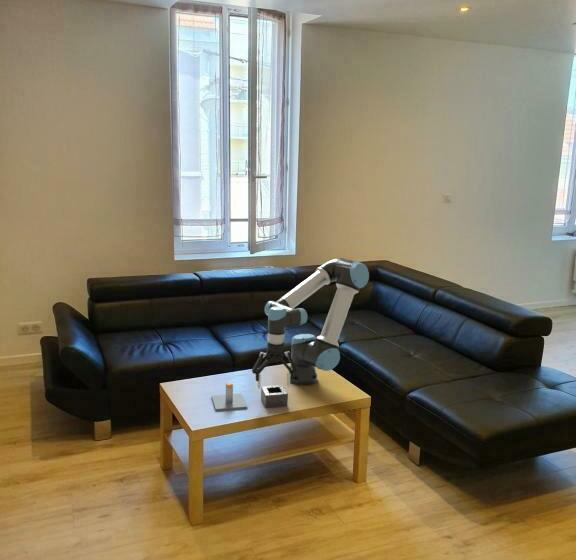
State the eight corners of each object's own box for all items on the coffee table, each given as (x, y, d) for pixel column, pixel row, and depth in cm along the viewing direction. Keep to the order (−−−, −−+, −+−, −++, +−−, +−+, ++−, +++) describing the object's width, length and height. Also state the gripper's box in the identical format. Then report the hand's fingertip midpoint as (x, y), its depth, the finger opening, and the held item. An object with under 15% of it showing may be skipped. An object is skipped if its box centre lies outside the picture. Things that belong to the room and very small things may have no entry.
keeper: (241, 395, 268) (242, 377, 266) (247, 408, 255) (247, 389, 253) (211, 397, 264) (211, 379, 262) (215, 411, 251) (215, 391, 249)
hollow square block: (282, 397, 268) (282, 384, 266) (287, 406, 258) (287, 393, 257) (260, 398, 265) (261, 386, 264) (265, 408, 256) (265, 395, 254)
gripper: (300, 338, 262) (298, 382, 266) (246, 339, 256) (244, 385, 260) (305, 343, 255) (302, 388, 259) (249, 345, 249) (247, 391, 253)
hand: (273, 386), depth 260 cm, fingers open, 13 cm apart
